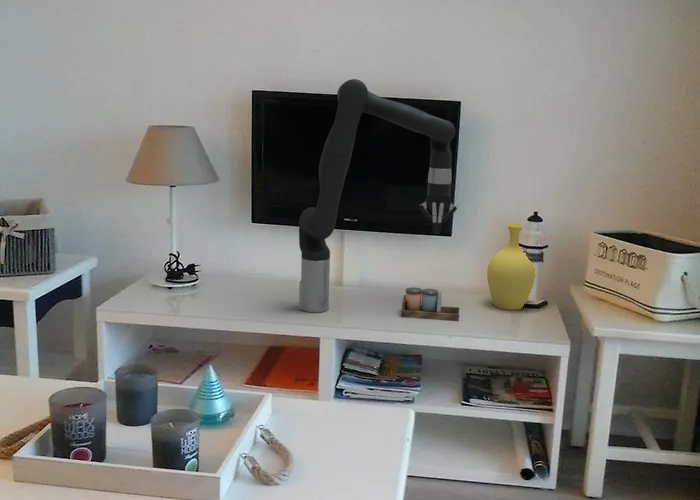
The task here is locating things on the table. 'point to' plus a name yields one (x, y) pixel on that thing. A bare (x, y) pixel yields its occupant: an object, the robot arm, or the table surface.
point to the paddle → (439, 302)
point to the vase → (510, 274)
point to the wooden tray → (432, 313)
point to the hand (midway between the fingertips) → (436, 233)
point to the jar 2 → (429, 300)
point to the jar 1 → (413, 299)
